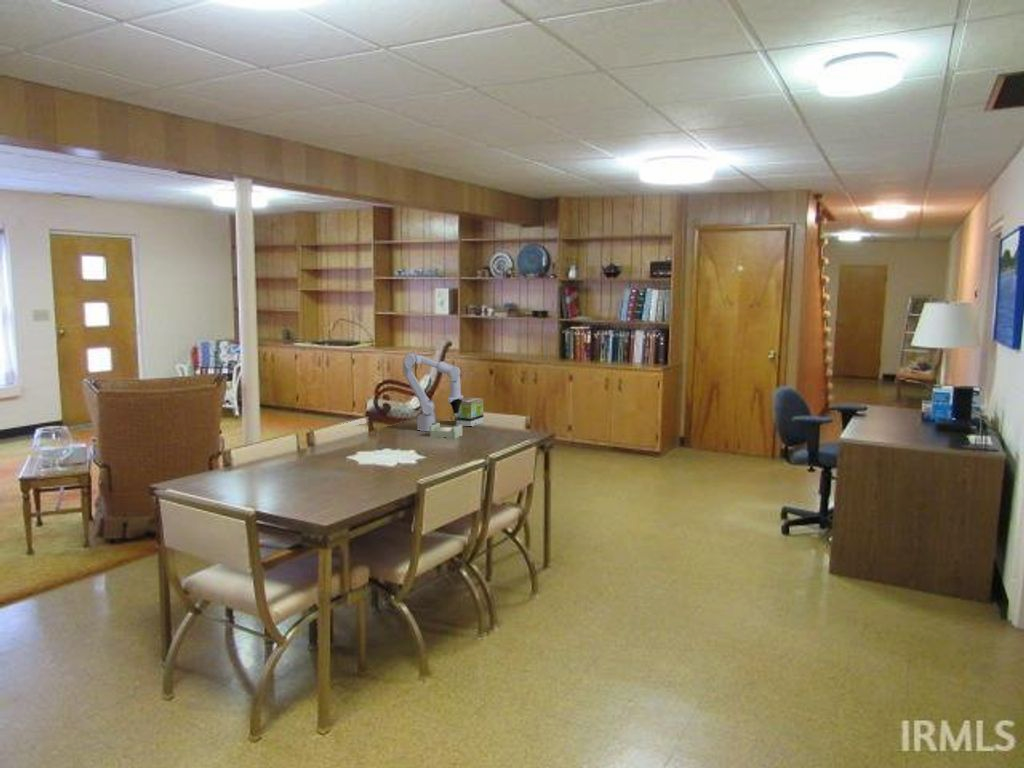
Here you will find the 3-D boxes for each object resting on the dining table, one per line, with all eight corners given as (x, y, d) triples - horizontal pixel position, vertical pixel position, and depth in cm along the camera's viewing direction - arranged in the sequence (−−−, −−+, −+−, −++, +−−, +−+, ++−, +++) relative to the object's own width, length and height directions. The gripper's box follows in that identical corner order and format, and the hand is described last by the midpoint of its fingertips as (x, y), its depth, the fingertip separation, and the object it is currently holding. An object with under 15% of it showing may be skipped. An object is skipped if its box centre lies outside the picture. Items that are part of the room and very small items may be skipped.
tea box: (471, 427, 408) (471, 401, 406) (456, 426, 413) (455, 400, 411) (484, 423, 422) (483, 397, 420) (469, 421, 426) (468, 396, 424)
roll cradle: (429, 436, 384) (429, 424, 383) (438, 433, 392) (437, 421, 391) (454, 438, 378) (454, 426, 377) (462, 435, 386) (462, 423, 385)
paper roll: (436, 424, 386) (439, 430, 389) (433, 432, 383) (436, 438, 386) (454, 425, 382) (457, 431, 386) (451, 433, 379) (454, 439, 383)
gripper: (455, 390, 390) (456, 415, 392) (467, 387, 404) (468, 411, 405) (444, 390, 393) (444, 414, 395) (456, 386, 406) (457, 410, 408)
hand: (455, 413), depth 400 cm, fingers closed
